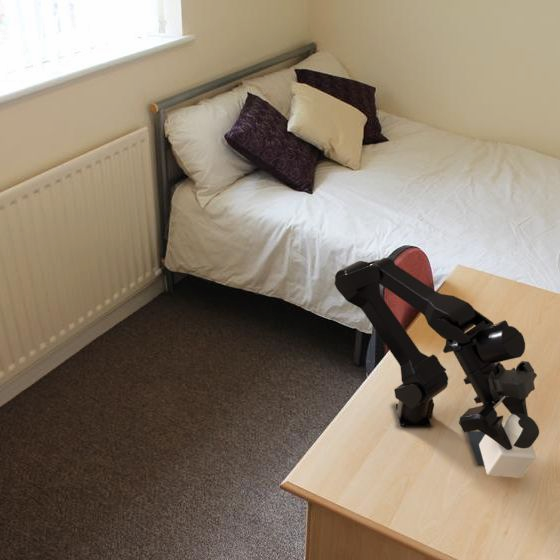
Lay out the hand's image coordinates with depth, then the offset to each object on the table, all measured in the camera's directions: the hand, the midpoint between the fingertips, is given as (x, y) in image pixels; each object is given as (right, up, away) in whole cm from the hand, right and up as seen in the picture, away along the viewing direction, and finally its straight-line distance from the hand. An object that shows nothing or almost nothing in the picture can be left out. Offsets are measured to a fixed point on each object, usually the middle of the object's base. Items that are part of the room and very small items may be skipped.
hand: (518, 439), depth 133 cm
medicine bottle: (-2, -6, +5) cm, 8 cm away
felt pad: (-1, -4, +12) cm, 13 cm away
